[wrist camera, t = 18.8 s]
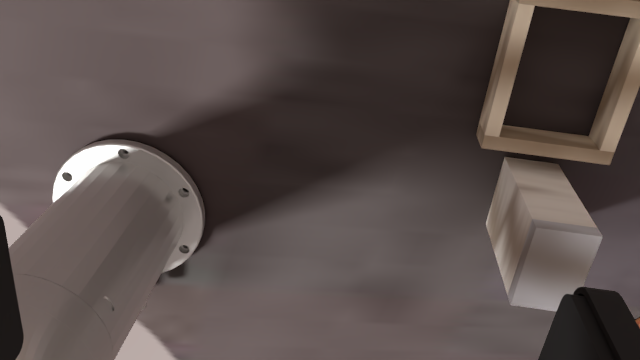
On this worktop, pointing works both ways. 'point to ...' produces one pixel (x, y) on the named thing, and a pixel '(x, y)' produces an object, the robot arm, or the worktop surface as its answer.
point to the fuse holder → (550, 165)
